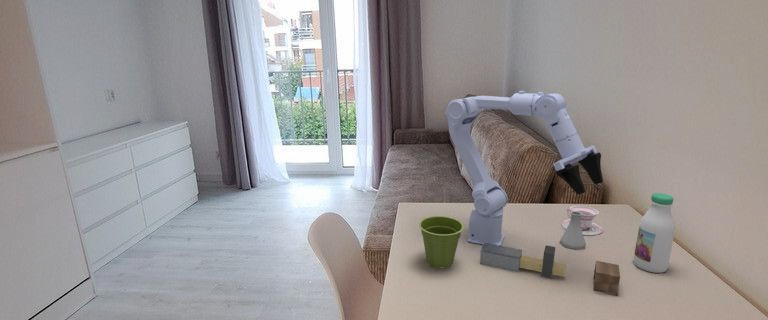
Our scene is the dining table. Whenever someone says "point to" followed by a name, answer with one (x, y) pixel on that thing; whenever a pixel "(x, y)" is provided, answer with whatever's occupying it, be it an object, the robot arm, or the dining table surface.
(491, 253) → the sleeve
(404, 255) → the dining table surface
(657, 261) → the milk bottle
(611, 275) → the socket
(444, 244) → the plant pot
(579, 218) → the flask
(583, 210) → the teacup
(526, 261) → the grey-banded wooden bar
